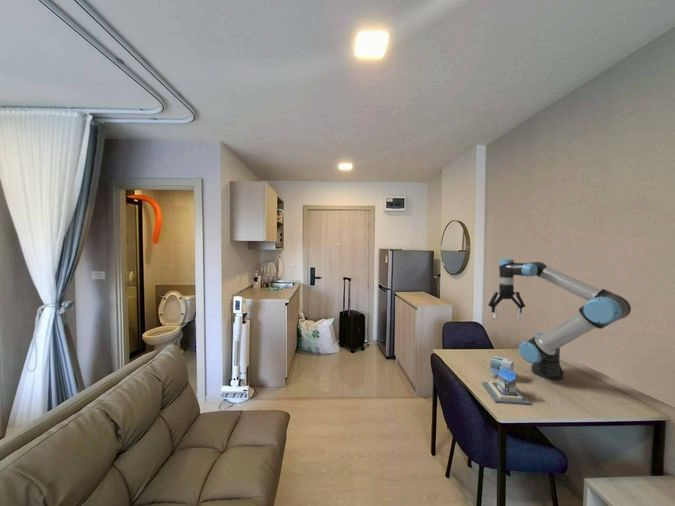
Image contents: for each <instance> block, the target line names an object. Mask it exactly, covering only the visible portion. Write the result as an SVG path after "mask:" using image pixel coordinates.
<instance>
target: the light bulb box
mask: <svg viewBox="0 0 675 506" xmlns="http://www.w3.org/2000/svg"><path fill="white" fill-rule="evenodd" d="M504 366H505V367H506V368H508V369H510V370H511V371H513V372H514V360H513V359H510V358H505V357H501V356H497V355H492V357H491V358H490V378H493V379H494V378H495V379H497V374H498V373H500V372H501V371H503V369H504ZM508 372H509V373H510V374H512V373H511V372H510V371H508Z"/></svg>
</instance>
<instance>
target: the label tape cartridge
mask: <svg viewBox="0 0 675 506" xmlns="http://www.w3.org/2000/svg"><path fill="white" fill-rule="evenodd" d="M508 371H510V372H511V373H512V374H510V373H509V372H508ZM516 376H517V373H516V372H514V370H513V371H511V370H510V369H508V368H506V367H505V366H504V369H503V371H501V372H500V373H498V374H497V378H496V379H497V380H496V382H497V389H498V390H500V391H501V392H502V393H503V394H505V395H506V396H516V388H517V385H516V384H517V383H516V382H517V377H516Z"/></svg>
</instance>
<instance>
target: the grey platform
mask: <svg viewBox="0 0 675 506" xmlns="http://www.w3.org/2000/svg"><path fill="white" fill-rule="evenodd" d="M481 385H482V386H483V388H484V389H485V390H486V392H487V394H488V395H489V396H490V398H491V399H492V400H493V401H494V403H495V404H496V403H497V404H507V403H508V405H525V406H531V405H532V403H531V401H530V400H529V399H528V398H527V397H526V396H525V395H524V394H523V393H522V392H521V391H520V389H518V387H516V396H506V395H505V394H503V393H502V392H501V391H500V390H498V389H497V381H494V380H493V381H492V380H489V381H488V382H484V381H481Z"/></svg>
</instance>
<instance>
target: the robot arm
mask: <svg viewBox="0 0 675 506" xmlns="http://www.w3.org/2000/svg"><path fill="white" fill-rule="evenodd" d="M498 265H499V266H498V267H499V269H498V271H499V278H498V279H499V281H498V282H499V284H498V285H499V291H493V294H492V297H491V299H490V301H489V302H488V307H491V313H492V315H493V316H492V317H493V319H497V308H496V307H497V306H498V305H499V304H500V302H501V301H502V300H512V302H513V303H514V304H515V305H516V318H517V319H519V320H520V319H521V314H522V313H523V312H522V311H523V308H525V307H526V305H525V302H524V300H523V299H522V296H521V294H520V292H519V291H517V290H516V291H514V290H515V287H514V286H515V285H514V282H515V279H514V278H515V277H514V276H520V277H521V276H522V277H535V276H536V277H538V278H541V279H542V280H545V281H547V282H549V283H551V284H552V285H556V286H557V287H559V288H561V289H563V290H565V291H567V292H569V293H571V294H573V295H575V296H577V297H579V298H582V299H584V300H586V302H585V304H584V305H582V306H581V307H579V308H578V313H576V314H575V315H573V316H572V317H570V318H568V319H566V320H565V321H563V322H562V323H560V324H558V325H557V326H555V327H553V328H552V329H551V330H549V331H547V332H546V333H539V332H538V333H535V334H534V336H533V337H531V338H530V339H528V340H526V341H522V342H521V343H520V344H519V346H518V352H519V355H520V357H521V358H522V359H523V360H524V361H526V362H527V363H530V364H532V365H531V369H530V370H531V372H532V373H533V374H534V375H536V376H538V377H541V378H544V379H549V380H556V381H557V380H562V379H564V371H563V368H562V366H561V364H560V360H561V359H560V358H561V357H560V356H561V355H560V353H561V351H560V349H561V348H562V347H563V346H565V345H567V344H568V343H570V342H572V341H574V340H576V339H577V338H579V337H582V336H583V335H584V334H586V333H589V332H591V331H592V330H594V329H598V330H601V329H604V328H606V327H607V326H609V325H612V324H613V323H615V322H617V321H619V320H622V319H625V318H626V317H628V316H629V315H630V313H631V310H632V307H631V304H630V302H629V301H628V300H627V299H626V298H624V297H623V296H621V295H619V294H616V293H614V292H612V291H609V290H608V289H607V290H606V289H605V288H600V289H599V288H597V287H595V286H593V285H591V284H588V283H586V282H583V281H581V280H579V279H577V278H576V277H575V278H574V277H572V276H570V275H568V274H565V273H563V272H561V271H558V270H556V269H554V268H552V267H550V266H548V265H547V264H546V263H544V262H541V261H533V262H532V261H531V262H515V260H514V259H513V258H502V259H500V260H499V263H498ZM514 296H516V298H517V299H516V298H515V297H514Z"/></svg>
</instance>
